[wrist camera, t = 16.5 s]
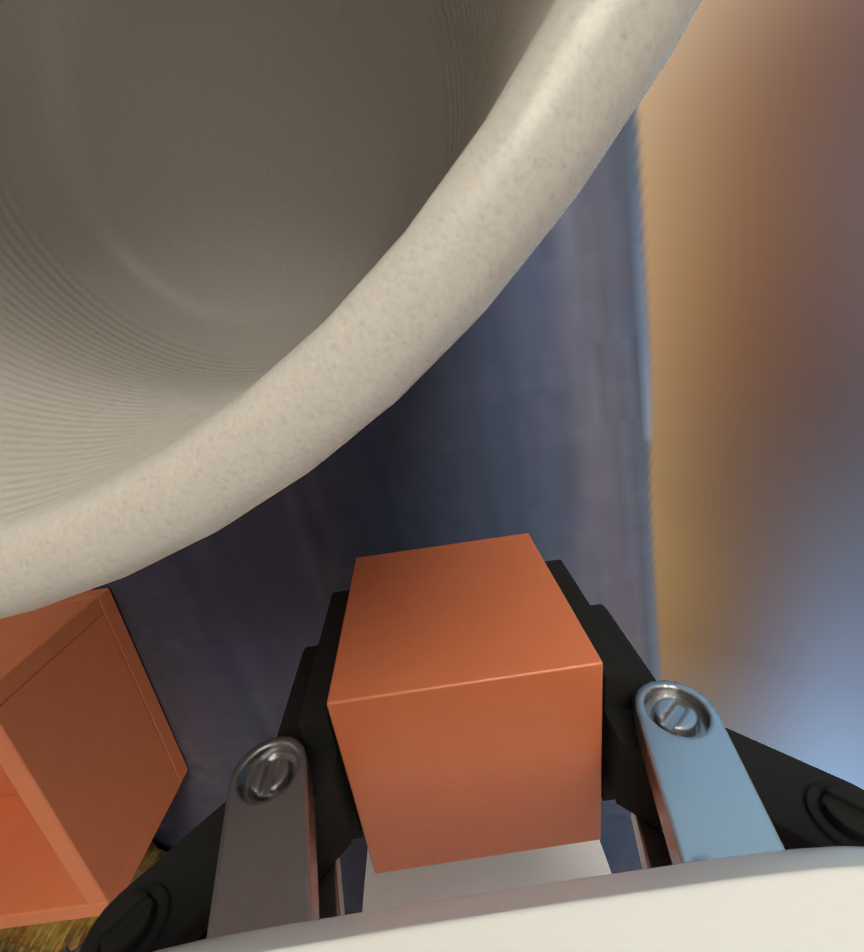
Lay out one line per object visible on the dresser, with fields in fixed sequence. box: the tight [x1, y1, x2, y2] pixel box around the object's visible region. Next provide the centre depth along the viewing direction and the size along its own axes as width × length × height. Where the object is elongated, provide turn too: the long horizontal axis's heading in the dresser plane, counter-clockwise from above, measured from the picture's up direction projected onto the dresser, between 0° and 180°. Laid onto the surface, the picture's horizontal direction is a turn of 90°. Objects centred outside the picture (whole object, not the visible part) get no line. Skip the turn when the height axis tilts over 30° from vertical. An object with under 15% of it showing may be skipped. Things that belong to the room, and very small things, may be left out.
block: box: [327, 533, 603, 873], centre depth 10 cm, size 4×4×4 cm
